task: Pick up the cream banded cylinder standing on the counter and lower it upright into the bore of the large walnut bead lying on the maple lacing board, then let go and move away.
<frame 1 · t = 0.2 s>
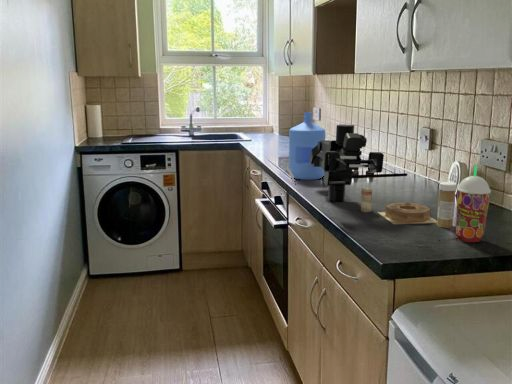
hand: (361, 167, 151), 17 cm above the worktop, tool horizontal, fingers open, 9 cm apart
board: (407, 220, 156), on the worktop
cream banded cylinder: (365, 213, 163), on the worktop
smoothie: (468, 240, 137), on the worktop
sprinkles bottle: (444, 229, 147), on the worktop
water jug: (306, 177, 225), on the worktop
bead: (407, 217, 155), resting on board
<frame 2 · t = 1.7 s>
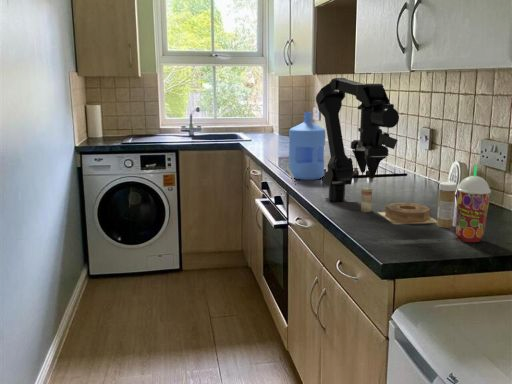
hand: (367, 175, 161), 12 cm above the worktop, tool pointing down, fingers open, 9 cm apart
nothing on the worktop moved.
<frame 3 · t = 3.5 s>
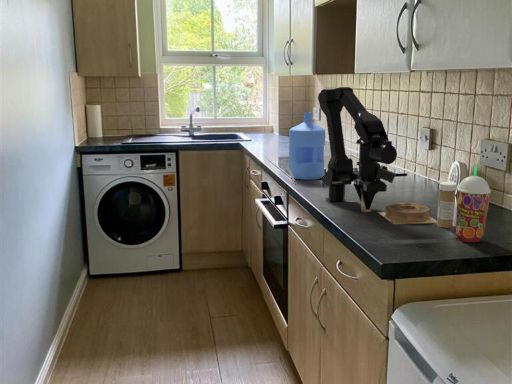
hand: (365, 208, 163), 2 cm above the worktop, tool pointing down, fingers closed on cream banded cylinder, 3 cm apart
cream banded cylinder: (365, 213, 163), on the worktop, touching gripper
everything else where it was.
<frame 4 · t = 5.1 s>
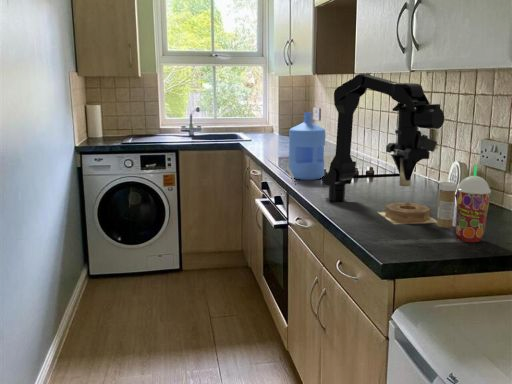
hand: (405, 179, 153), 13 cm above the worktop, tool pointing down, fingers closed on cream banded cylinder, 3 cm apart
cream banded cylinder: (405, 185, 154), point 11 cm above the worktop, touching gripper
everything else where it was.
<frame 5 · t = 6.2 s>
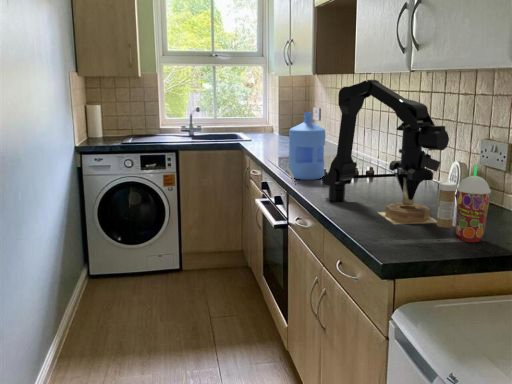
hand: (408, 198, 154), 7 cm above the worktop, tool pointing down, fingers closed on cream banded cylinder, 3 cm apart
cream banded cylinder: (407, 204, 155), point 5 cm above the worktop, touching gripper
everything else where it was.
when the fingers open (4 cm above the worktop, at t = 6.9 s): cream banded cylinder drops 2 cm, resting on board.
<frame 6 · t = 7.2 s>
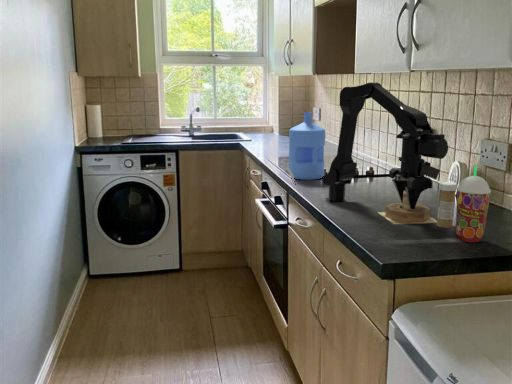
hand: (407, 205, 155), 4 cm above the worktop, tool pointing down, fingers open, 6 cm apart
cream banded cylinder: (407, 216, 155), point 1 cm above the worktop, touching board
everything else where it was.
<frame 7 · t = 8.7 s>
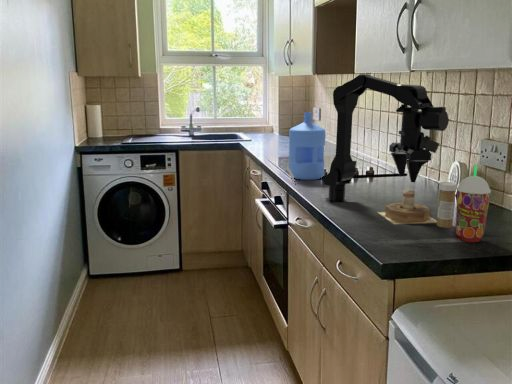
hand: (407, 179, 157), 12 cm above the worktop, tool pointing down, fingers open, 9 cm apart
nothing on the worktop moved.
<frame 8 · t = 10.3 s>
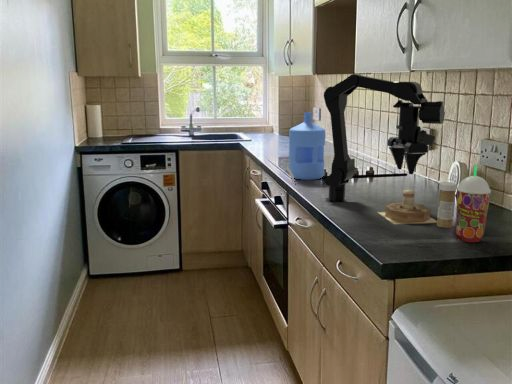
hand: (405, 171, 164), 13 cm above the worktop, tool pointing down, fingers open, 9 cm apart
nothing on the worktop moved.
at the end: cream banded cylinder 0.0 cm off-centre on the bead, point 0.0 cm above the bead's base; cream banded cylinder tilted 1°; the gripper is holding nothing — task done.
